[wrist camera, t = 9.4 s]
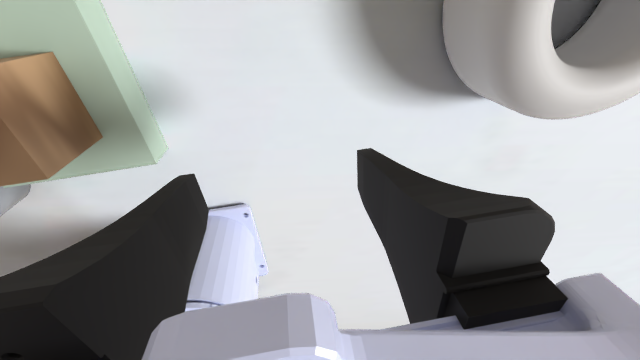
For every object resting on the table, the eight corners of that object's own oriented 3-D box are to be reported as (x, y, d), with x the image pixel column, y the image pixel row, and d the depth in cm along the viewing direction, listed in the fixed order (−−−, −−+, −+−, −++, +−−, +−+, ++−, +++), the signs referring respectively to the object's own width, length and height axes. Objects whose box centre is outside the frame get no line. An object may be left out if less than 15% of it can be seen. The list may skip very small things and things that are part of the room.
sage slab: (170, 145, 21) (156, 163, 19) (36, 165, 21) (4, 188, 18) (100, -10, 16) (68, -12, 13) (-84, 12, 15) (-154, 14, 13)
